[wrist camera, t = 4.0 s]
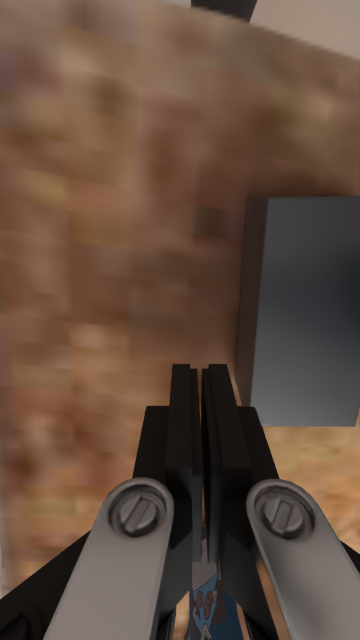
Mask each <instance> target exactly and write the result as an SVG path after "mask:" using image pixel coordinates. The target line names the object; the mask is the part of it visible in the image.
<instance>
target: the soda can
mask: <svg viewBox="0 0 360 640" xmlns="http://www.w3.org/2000/svg"><path fill="white" fill-rule="evenodd" d="M189 608H190V640H244V638H243V634H242V630H241V626H240V621H239V617H238V613H237V604H236V602H235V601H234V600H233V598H232V597H231V596H230V595H229V594H228V593H227V592H226V591H225V590H224V589H223V588H222V583H221V580H218V579H217V567H216V563H208V559H207V543H206V527H205V524H203V525H202V532H201V563H192V587H191V588H190V590H189Z"/></svg>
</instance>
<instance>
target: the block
mask: <svg viewBox="0 0 360 640" xmlns="http://www.w3.org/2000/svg"><path fill="white" fill-rule="evenodd" d="M235 380H236V384H237V388H238V391H239V395H240V399H241V402H242V406H251V407H255V408H256V411H257V413H258V416H259V419H260V422H261V425H262V426H349V427H354V426H355V424H356V420H357V416H358V412H359V408H360V196H307V197H252V198H247V199H246V212H245V228H244V243H243V259H242V274H241V290H240V306H239V321H238V337H237V352H236V368H235Z"/></svg>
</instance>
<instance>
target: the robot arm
mask: <svg viewBox="0 0 360 640" xmlns="http://www.w3.org/2000/svg"><path fill="white" fill-rule="evenodd" d="M202 493H204V510H205V527H206V543H207V559H208V563H216V567H217V579H218V580H221V583H222V588H223V589H224V590H225V591H226V592H227V593H228V594H229V595H230V596H231V597H232V598H233V600H234V601H235V602H236V604H237V613H238V617H239V621H240V626H241V630H242V634H243V638H244V640H360V554H359V553H357V552H356V551H355V550H353V549H352V548H350V547H349V546H347V545H346V544H345V543H343V542H342V541H340V540H339V539H338V537H337V535H336V534H335V532H334V530H333V529H332V527H331V525H330V524H329V522H328V520H327V519H326V517H325V515H324V514H323V512H322V510H321V509H320V507H319V505H318V504H317V503H316V501H315V500H314V499H313V498H312V496H311V495H310V494H309V493H307V492H306V491H305V490H304V489H302V488H301V487H299V486H297V485H295V484H294V483H292V482H289V481H285V480H281V479H279V476H278V473H277V470H276V467H275V464H274V461H273V458H272V455H271V452H270V449H269V446H268V443H267V440H266V437H265V434H264V431H263V428H262V425H261V422H260V419H259V416H258V413H257V411H256V408H255V407H251V406H237V404H236V400H235V396H234V392H233V388H232V384H231V380H230V375H229V371H228V367H227V364H209V368H208V369H202V396H201V425H200V410H199V394H198V378H197V369H190V364H173V368H172V380H171V392H170V404H169V406H147V407H146V411H145V416H144V421H143V426H142V431H141V436H140V441H139V447H138V452H137V457H136V462H135V467H134V472H133V477H132V479H130V480H126V481H125V482H123V483H121V484H119V485H117V486H116V487H115V488H114V489H113V490H112V491H111V492H110V493H109V494H108V496H107V497H106V499H105V500H104V502H103V504H102V506H101V508H100V511H99V513H98V515H97V518H96V520H95V522H94V524H93V527H92V529H91V530H90V531H89V532H87V533H86V534H85V535H83V536H82V537H81V538H80V539H78V540H77V541H76V542H74V543H73V544H72V545H70V546H69V547H68V548H67V549H65V550H64V551H63V552H61V553H60V554H59V555H58V556H56V557H55V558H54V559H52V560H51V561H50V562H48V563H47V564H46V565H45V566H43V567H42V568H41V569H39V570H38V571H37V572H35V573H34V574H33V575H32V576H30V577H29V578H28V579H26V580H25V581H24V582H22V583H21V584H20V585H19V586H17V587H16V588H15V589H13V590H12V591H11V592H9V593H8V594H7V595H6V596H4V597H3V598H2V599H0V640H172V637H173V630H174V623H175V616H176V605H177V604H178V603H179V601H180V600H181V599H182V598H183V597H184V596H185V594H186V593H187V592H188V591H189V590H190V588H191V587H192V563H201V532H202Z"/></svg>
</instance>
